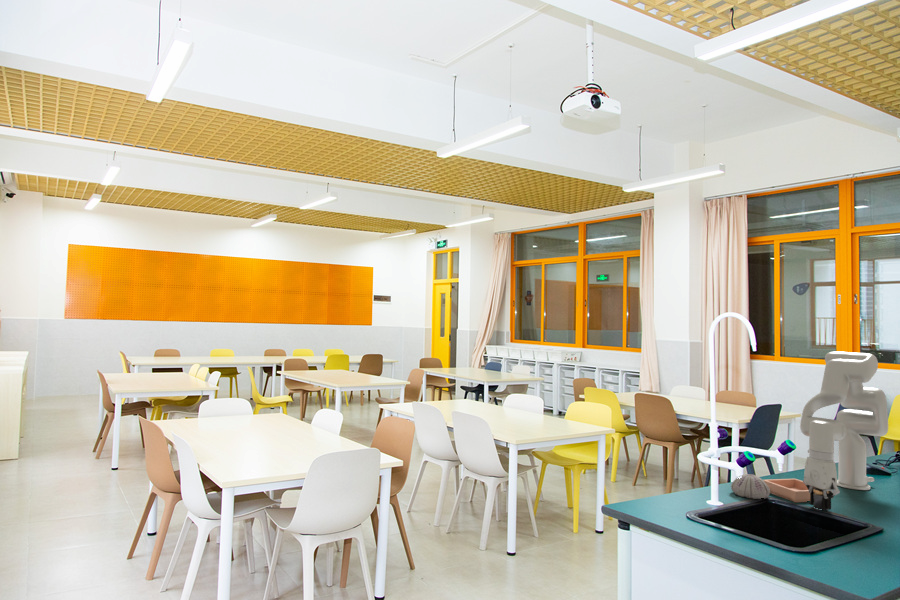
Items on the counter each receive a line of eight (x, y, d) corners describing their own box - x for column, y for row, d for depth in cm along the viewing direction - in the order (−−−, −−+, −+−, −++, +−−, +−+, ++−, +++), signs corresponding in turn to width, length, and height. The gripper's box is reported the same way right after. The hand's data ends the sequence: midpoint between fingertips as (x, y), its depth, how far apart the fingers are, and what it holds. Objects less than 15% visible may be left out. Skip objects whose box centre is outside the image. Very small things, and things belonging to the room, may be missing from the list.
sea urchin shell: (773, 503, 215) (774, 481, 215) (733, 498, 219) (733, 476, 219) (766, 493, 227) (766, 472, 227) (728, 489, 231) (728, 468, 232)
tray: (794, 488, 236) (795, 478, 236) (829, 500, 220) (830, 490, 220) (761, 489, 232) (762, 479, 232) (795, 502, 216) (795, 491, 216)
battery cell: (820, 506, 212) (820, 485, 212) (831, 510, 207) (831, 489, 208) (810, 507, 211) (810, 486, 211) (820, 511, 206) (821, 489, 207)
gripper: (793, 450, 217) (792, 500, 216) (833, 461, 201) (832, 515, 200) (809, 450, 219) (809, 499, 218) (851, 461, 203) (850, 514, 202)
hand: (820, 506), depth 209 cm, fingers closed on battery cell, 4 cm apart
